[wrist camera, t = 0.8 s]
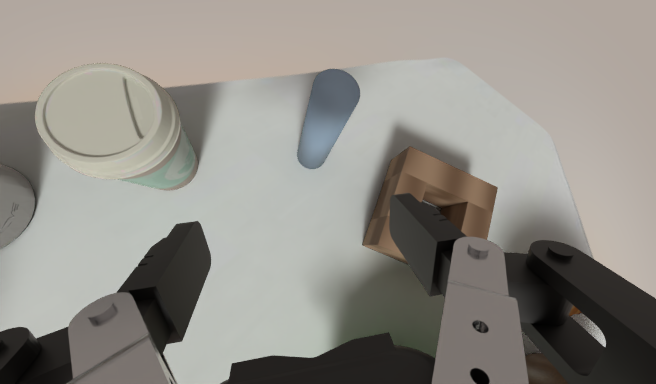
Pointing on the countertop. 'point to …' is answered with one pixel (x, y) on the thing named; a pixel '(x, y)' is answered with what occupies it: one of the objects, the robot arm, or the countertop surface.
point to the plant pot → (542, 370)
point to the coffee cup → (116, 127)
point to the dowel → (326, 115)
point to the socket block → (431, 198)
